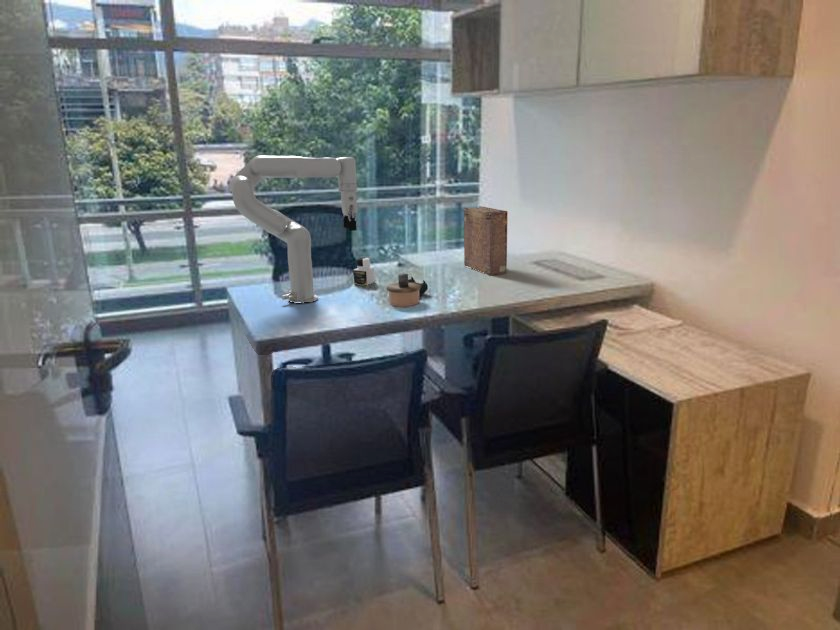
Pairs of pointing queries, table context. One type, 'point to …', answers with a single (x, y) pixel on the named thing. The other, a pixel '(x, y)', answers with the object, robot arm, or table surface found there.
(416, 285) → the walnut lid
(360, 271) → the medicine bottle
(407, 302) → the terracotta bowl
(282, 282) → the table surface
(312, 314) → the table surface
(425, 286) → the gaming controller
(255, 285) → the table surface
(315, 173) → the robot arm
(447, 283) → the table surface
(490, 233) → the brown lidded box
